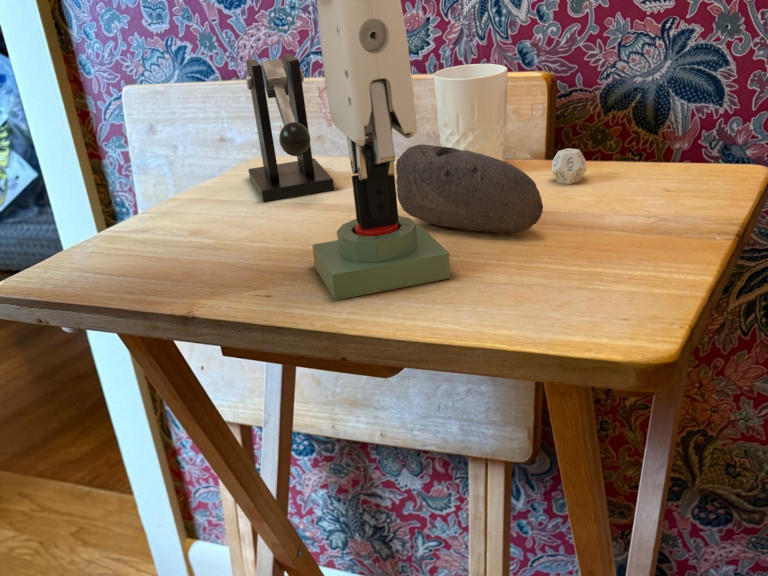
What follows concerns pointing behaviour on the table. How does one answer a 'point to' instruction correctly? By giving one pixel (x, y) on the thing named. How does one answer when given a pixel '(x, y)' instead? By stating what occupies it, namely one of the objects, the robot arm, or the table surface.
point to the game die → (568, 166)
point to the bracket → (273, 177)
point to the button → (375, 230)
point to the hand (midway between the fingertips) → (377, 223)
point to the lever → (284, 108)
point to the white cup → (472, 108)
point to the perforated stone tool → (466, 190)
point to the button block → (380, 260)
